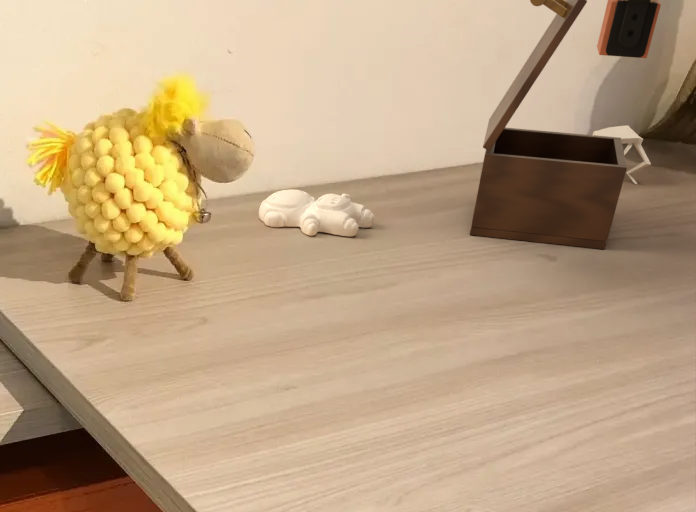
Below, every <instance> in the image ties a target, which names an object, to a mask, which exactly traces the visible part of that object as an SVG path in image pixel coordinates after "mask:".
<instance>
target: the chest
mask: <svg viewBox="0 0 696 512" xmlns="http://www.w3.org/2000/svg"><path fill="white" fill-rule="evenodd" d="M624 150H625V149H624V146H623V144H622V140H621V138H618V137H607V136H595V135H593V134H583V133H573V132H571V133H570V132H562V131H561V132H560V131H551V130H550V131H549V130H537V129H526V128H514V127H505V128H504V130H503V131H502V133H501V134H500V136H499V137H498V139H497V140H496V142H495V143H494V145H493V146H492V148H491V149H490V151H488V150H486V149H485V152H484V157H483V161H482V168H481V172H480V179H479V183H478V189H477V192H476V193H477V194H476V199H475V204H474V210H473V215H472V221H471V226H470V231H469V235H470V236H475V237H485V238H486V237H487V238H493V239H494V238H495V239H504V240H505V239H506V240H513V241H522V242H532V243H540V244H552V245H558V246H559V245H561V246H568V247H579V248H588V249H597V250H605V249H606V246H607V242H608V240H609V235H610V231H611V228H612V224H613V221H614V217H615V214H616V210H617V206H618V203H619V200H620V199H619V198H620V195H621V192H622V188H623V183H624V180H625V176H626V174H627V173H626V172H627V169H628V167H627V162H626V157H625V156H624Z"/></svg>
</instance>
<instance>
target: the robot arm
mask: <svg viewBox="0 0 696 512" xmlns="http://www.w3.org/2000/svg"><path fill="white" fill-rule="evenodd" d="M656 2H657V0H618V1H617V5H616V9H615V14H614V18H613V22H612V26H611V30H610V34H609V38H608V43H607V47H606V53H607V55H609V57H621V56H622V57H623V58H635V57H637V59H641V58H640V57H642V56H643V55H644V54H645V51H646V47H647V43H648V39H649V35H650V32H651V28H652V24H653V20H654V16H655V13H656V9H657V5H658V3H656ZM622 57H621V58H622Z"/></svg>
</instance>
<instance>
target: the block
mask: <svg viewBox="0 0 696 512" xmlns="http://www.w3.org/2000/svg"><path fill="white" fill-rule="evenodd" d="M617 1H618V0H607V2H606V7H605V11H604V16H603V19H602V23H601V28H600V32H599V36H598V41H597V44H596V48H597V52H598V55H599V56H606V57H607V56H609V55H607V53H606V47H607V43H608V38H609V34H610V30H611V26H612V22H613V18H614V14H615V9H616V5H617ZM656 3H658V5H657V9H656V13H655V16H654V20H653V24H652V28H651V32H650V35H649V39H648V43H647V47H646V51H645V54H644V55H643V56H642V57H640V58H639V59H647V58H648V55H649V51H650V48H651V44H652V40H653V37H654V32H655V29H656V25H657V21H658V18H659V14H660V10H661V7H662V4H661V2H660V1H659V0H657V2H656ZM609 57H610V56H609ZM620 57H621V58H622V56H620ZM635 58H637V57H634V59H635ZM637 59H638V58H637Z"/></svg>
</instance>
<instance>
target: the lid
mask: <svg viewBox="0 0 696 512" xmlns="http://www.w3.org/2000/svg"><path fill="white" fill-rule="evenodd" d="M529 2H530V3H531V5H532V6H533V7H540V6H545V7H546V8H548V9H549V10H550V11H552V12H553V13H554V14H555V15H554V17H553V19H552V20H551V22H550V24H549V25H548V26H547V28H546V30H544V33H543V34H542V36H541V37H540V39H539V41H538V42H537V44H536V45H535V47H534V49H533V50H532V52H531V53H530V54H529V56H528V58H527V60H526V61H525V62H524V64H523V66H522V67H521V69H520V70H519V72H518V74H517V75H516V76H515V77H514V80H513V81H512V83H511V85H510V86H509V87H508V88H507V90H506V92H505V93H504V95H503V97H502V99H501V100H500V101H499V103H498V105H497V106H496V108H495V110H494V111H493V113H492V114H491V115H490V117H489V118H488V123H487V128H486V132H485V136H484V140H483V146H482V148H483V149H484V150H485V151H486V150H488V151H490V149H491V148H492V146H493V145H494V143H495V142H496V140H497V139H498V137H499V136H500V134H501V133H502V131H503V130H504V128H507V125H508V124H509V122H510V120H511V119H512V117H513V116H514V114H515V113H516V111H517V110H518V108H519V107H520V105H521V104H522V102H523V101H524V99H525V98H526V96H527V95H528V93H529V91H530V90H531V89H532V87H533V85H535V83H536V81H537V79H538V78H539V77H540V75H541V73H542V72H543V70H544V68H545V67H546V65H547V64H548V62H549V61H550V59H551V58H552V56H553V55H554V54H555V52H556V51H557V49H558V47H559V46H560V44H561V43H562V41H563V39H565V37H566V36H567V34H568V32H569V30H570V29H571V27H572V26H573V24H574V23H575V22H576V20H577V18H578V17H579V15H580V14H581V12H582V11H583V9H584V8H585V6H586V4H587V3H588V0H529Z"/></svg>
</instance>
